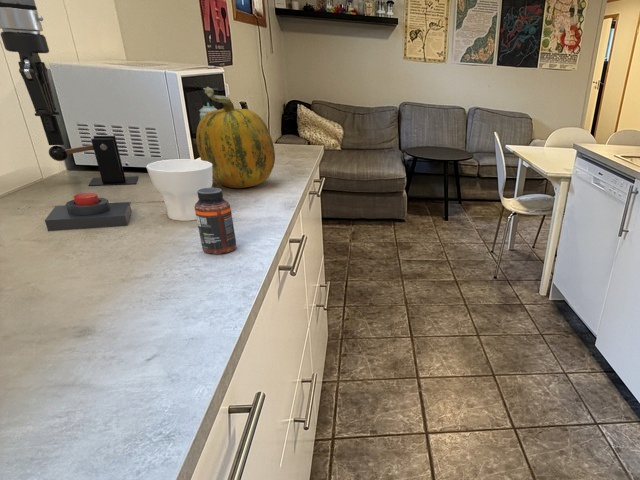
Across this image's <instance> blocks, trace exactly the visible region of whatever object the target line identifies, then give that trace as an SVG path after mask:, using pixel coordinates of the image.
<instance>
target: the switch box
mask: <svg viewBox="0 0 640 480" xmlns="http://www.w3.org/2000/svg"><path fill="white" fill-rule="evenodd" d="M98 198H99V203H97V204H92V205H76V204H75V201H74V199H72V200H69V201H67V202H65V204H64V205H61V204H60V205H55V206H54V207H53V208H52V210H51V211H50V213H48V215H47V216H46V218H45V219H44V223H45V226H46V229H47V231H48V232H55V231H71V230H72V231H73V230H85V229H101V228H112V227H113V228H115V227H128V225H129V222H130V219H131V215H132V212H133V211H132V208H131V204H130V201H122V202H119V201H118V202H110V201H109V199H107V198H105V197H98Z"/></svg>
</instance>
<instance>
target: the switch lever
mask: <svg viewBox="0 0 640 480" xmlns="http://www.w3.org/2000/svg"><path fill="white" fill-rule="evenodd" d="M88 151H94V149H93V145H92V144H89V145H84V146H83V145H82V146H77V147H71V148H64V147H63V146H62V145H51V147H49V149H48V156H49V157H50V158H51V159H52V160H53V161H56V162H64V161H66V160H67V159H68V157H69V155H71V154H77V153H82V152H88Z"/></svg>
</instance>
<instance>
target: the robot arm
mask: <svg viewBox="0 0 640 480" xmlns="http://www.w3.org/2000/svg"><path fill="white" fill-rule="evenodd" d="M43 21H44V17H43V16H42V15H39V12H38V7H37V5H36V2H35V0H0V30H1V31H0V38H1V40H2V44H3V47H4V49H5V50H6V51H7V52H11V53H18V57H19V61H18V62H17V63H18V66H19V68H18V72H19V74H20V76H21V78H22V80H23V83H24V84H25V88H26V90H27V92H28V95H29V98H30V100H31V103H32V105H33V109H34V116H35V117H40V122H41V124H42V128H43V131H44V134H45V137H46V140H47V143H48V146H65V142H64V138H63V135H62V132H61V128H60V126H59V121H58V118H57V116H60V111H57V107H56V104H55V100H54V95H53V90H52V87H51V82H50V78H49V73H48V68H47V66H46V64H45V63H46V62H44V61H42V59H41V57H40V54H48V53H50V49H49V48H50V47H49V45H48V41H47V39H46V36H45V35H44V34H41V32H43V31H44V29H43V25H42V22H43Z"/></svg>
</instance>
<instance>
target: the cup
mask: <svg viewBox="0 0 640 480" xmlns="http://www.w3.org/2000/svg"><path fill="white" fill-rule="evenodd" d="M146 170H147V173H148V175H149V179H150V181H151V184H152V186H153V188H154V189H156V191H158V193H159V194H160V195H161V197H162V200H163V202H164V204H165V207H166V209H167V210H166V213H167V217H168V218H169V219H170V220H173V221H179V222H191V221H197V218H196V213H195V207H194V206H195V204H196V202H198V200H199V198H198V193H197V191H198V190H200V189H203V188H213V178H212V163H210V162H208V161H203V160H201V159H193V158H175V159H174V158H173V159H163V160H157V161H152V162H150V163H147V165H146Z"/></svg>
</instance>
